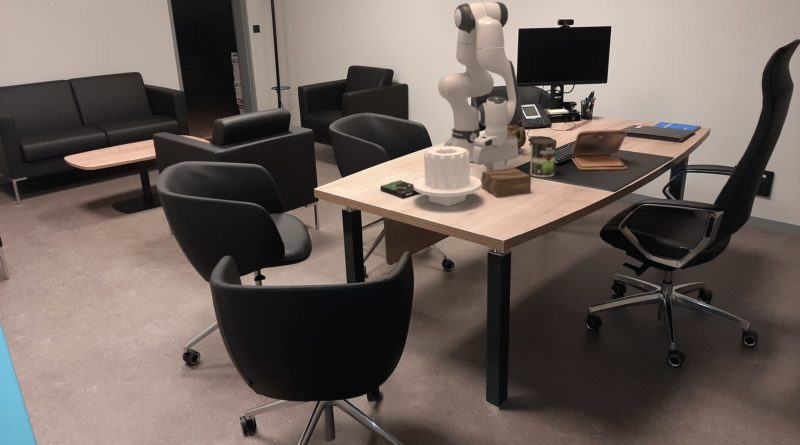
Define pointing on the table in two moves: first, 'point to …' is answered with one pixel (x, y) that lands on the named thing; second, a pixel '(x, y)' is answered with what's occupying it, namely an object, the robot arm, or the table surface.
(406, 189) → the disk drive
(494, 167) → the white block
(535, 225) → the table surface
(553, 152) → the coffee can
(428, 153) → the ribbed cylinder on disc
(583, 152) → the case
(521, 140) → the teapot
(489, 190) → the walnut box
